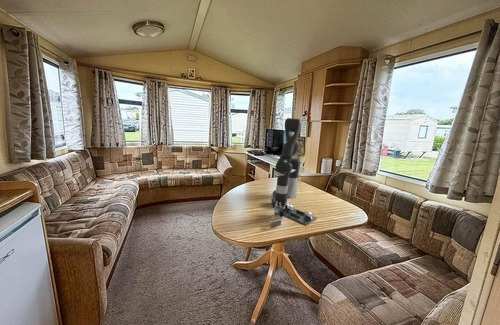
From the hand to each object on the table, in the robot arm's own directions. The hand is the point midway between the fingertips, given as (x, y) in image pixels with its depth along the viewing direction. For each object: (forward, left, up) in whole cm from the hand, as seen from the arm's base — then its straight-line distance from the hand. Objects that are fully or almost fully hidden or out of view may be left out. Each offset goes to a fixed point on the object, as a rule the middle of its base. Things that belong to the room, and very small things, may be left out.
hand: (278, 215), depth 144 cm
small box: (-12, +16, -1) cm, 20 cm away
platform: (+6, -12, -1) cm, 14 cm away
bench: (+8, +11, -1) cm, 14 cm away
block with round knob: (0, 0, -1) cm, 1 cm away
